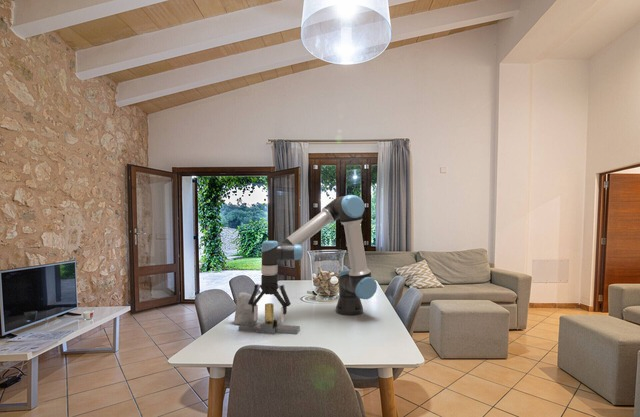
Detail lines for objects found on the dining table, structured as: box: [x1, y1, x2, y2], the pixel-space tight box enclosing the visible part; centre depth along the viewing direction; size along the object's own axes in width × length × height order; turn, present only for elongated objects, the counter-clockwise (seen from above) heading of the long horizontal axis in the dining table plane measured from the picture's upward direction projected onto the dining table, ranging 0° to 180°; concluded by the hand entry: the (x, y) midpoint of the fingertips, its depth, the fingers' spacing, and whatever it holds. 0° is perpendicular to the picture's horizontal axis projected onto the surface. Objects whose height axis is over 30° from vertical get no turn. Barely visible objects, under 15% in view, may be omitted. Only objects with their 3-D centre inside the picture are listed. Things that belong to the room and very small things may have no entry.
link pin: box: [264, 303, 275, 328], centre depth 149 cm, size 4×4×12 cm
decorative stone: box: [233, 291, 258, 325], centre depth 159 cm, size 11×6×15 cm, turn 87°
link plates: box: [238, 319, 301, 335], centre depth 149 cm, size 28×8×4 cm, turn 80°
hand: (269, 320), depth 149 cm, fingers open, 12 cm apart
